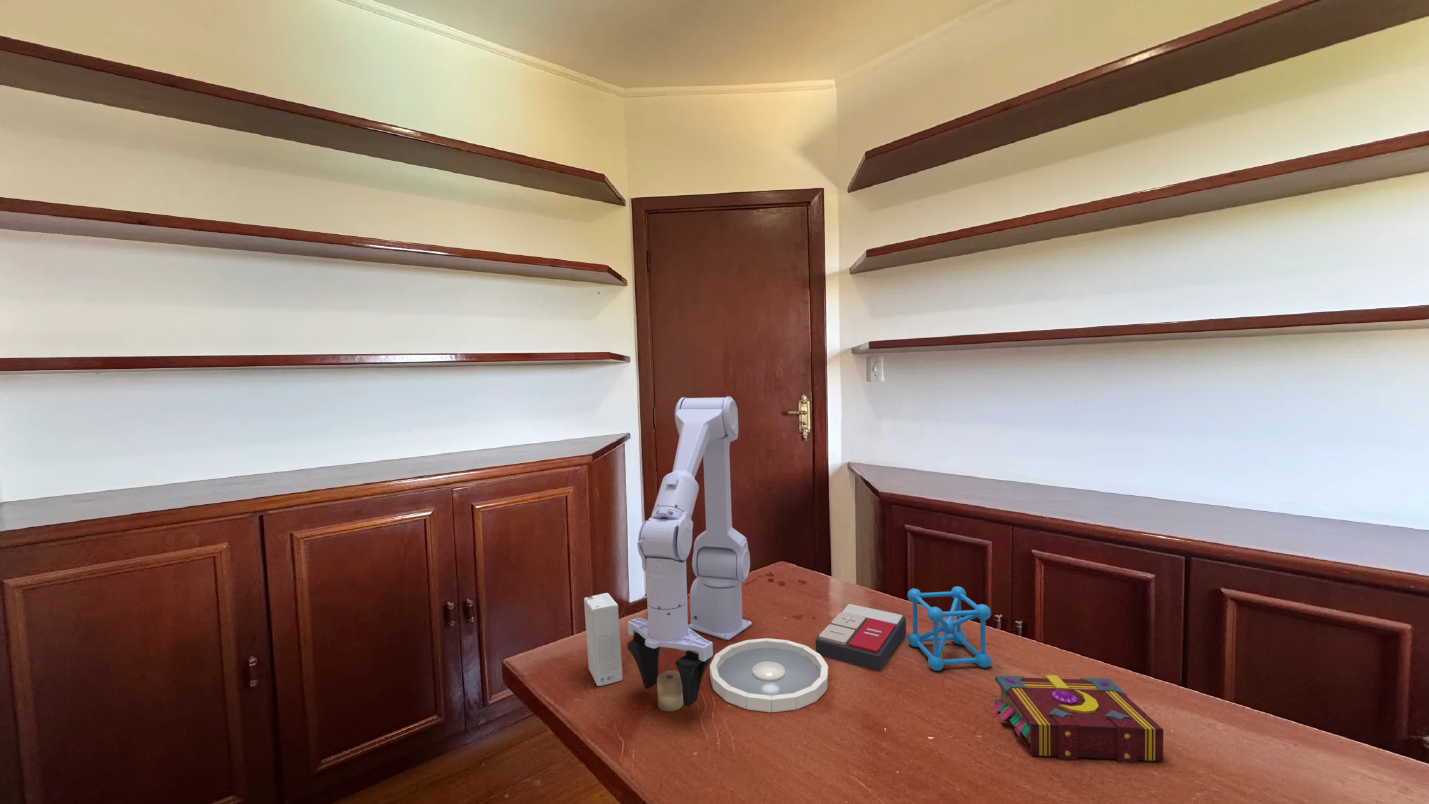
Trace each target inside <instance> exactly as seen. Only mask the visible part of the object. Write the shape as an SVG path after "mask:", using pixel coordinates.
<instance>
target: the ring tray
mask: <svg viewBox="0 0 1429 804" xmlns="http://www.w3.org/2000/svg"><path fill="white" fill-rule="evenodd" d="M709 677H710V678H709V679H710V683H711V686H712V687H711V688H712V689H713V691H714V692H715V693H716V694H717V695H718V696H719V697H721V698H722V699H723V700H724V701H725V702H727V703H729V704H732V705H735V706H737V707H739V708H742V709H745V710H749V711H757V712H766V713H767V712H768V713H777V712H778V713H779V712H786V711H796V710H799V709H801V708H802V709H803V707H806V706H809V705H811V704H813V703H815V702H818V700H819V699H820V698H821V697H822V696H823V695H824V694H825V693H826V691H827V690H828V683H829V665H828V664H827V662H826V660H825V659H824V657H823V656H821V655H820V654H819V653H817V652H816V650H814V649H813V648H811V647H809V646H807V645H805V644H802V643H797V642H794V641H791V640H788V639H778V638H777V639H776V638H767V637H765V638H755V639H746V640H742V641H739V642H735V643H733V644H730V645H727V646H726V647H724V648H723V649H721V650H720V651H718V652H716V653H715V654H714V655H713V659H712V661H711V663H710V664H709Z"/></svg>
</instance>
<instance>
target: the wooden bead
mask: <svg viewBox="0 0 1429 804" xmlns="http://www.w3.org/2000/svg"><path fill="white" fill-rule="evenodd" d="M656 685H657V706H658V708H659V709H660V710H661V711H663V712H668V713H669V712H675V711H678V710H680V709H681V708H682V707H683V705H684V702H683V693H682V682H681V677H680V674H679V671H677V670H666V671H662V672H661V673H658V677H657V684H656Z"/></svg>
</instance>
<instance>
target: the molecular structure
mask: <svg viewBox="0 0 1429 804" xmlns="http://www.w3.org/2000/svg"><path fill="white" fill-rule="evenodd" d="M938 597H939V598H940V597H952V598H953V601H952V604H951V608H950V611H949V610H948V611H943V610H942V609H941V608H939V607H938V606H930V605H929V604H928V603H927V602H925V601H924V600H923V599H924V598H938ZM907 598H908V600H909V601H910V602H912V632H911V633H910V634H909V635H908V638H907V639H908V640H907V641H908V643H909V645H910V646H911V647H914V648H920V650H921V651H922V652H923V653H924V655H925V656H926V657H928V660H927V664H928V666H929V668H931V670H933V671H936V672H937V671H941V670H942V669H943V668H944V666H945V665H961V664H975V663H976V665H978V666H979V667H980V668H983V669H985V668H986V669H987V668H988V667H990V666H991V663H992V657H991V655H989V654H988V653H987V652H986V650H987V649H986V645H987V644H986V643H987V642H986V640H987V639H986V620H989V619H990V618H991V616H992V612H991V608H990V607H989V606H988V605H986V604H984V603H983V604H982V603H980V604H976V603H975V602H974V601H973V600H971V599H970V598H969V597H967V593H966V590H965V589H964V588H963V587H961V586H960V585H959V586H958V585H957V586H954V587H952V589H951V591H937V592H936V591H935V592H934V591H933V592H921V591H920V589H918V588H911V589H909V591H907ZM962 601H964V602H965V603H967V604H968V605H969V606H971V607H972V608H973V609H970V610H969V609H967V610H962ZM918 603H919V604H920V606H922V607H923V608H924V609H925V610H926V611H927V617H928V619H929V620H930V621H931V622H932V629H931V630H929V631H928V632H925V633H922V634H920V633H918V631H919V630H918ZM945 617H946V618H945ZM954 617H955V619H956V620H954V621H953V619H954ZM976 618H978V619H979V620H980V621H979V622H980V624H979V625H980V626H979V627H980V629H979V630H980V635H979V636H980V646H979V647H980V651H978V650H977V649H976V648H975V647H974V646H973V645H971V643H969V642H968V641H967V636H966V634H965V632H964V631H962V624H963V623H967V622H968V621H972V620H973V619H976ZM939 633H942V635H939ZM946 641H953V643H954V644H956V645H963V646H965V647H966V648H967V650H969V651H970V653H972V654H973V655H974V656H975V657H963V658H950V659H949V658H948V659H947V658H946V659H943V657H942V653H943V650H944V648H945V644H946ZM923 642H924V643H925V642H927V643H928V642H933V644H932V647H933V649H932V650H933V652H932V653H933V654H932V653H931V652H930V651H929V650H928V649H927V648H926V646H925V645H923Z"/></svg>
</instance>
